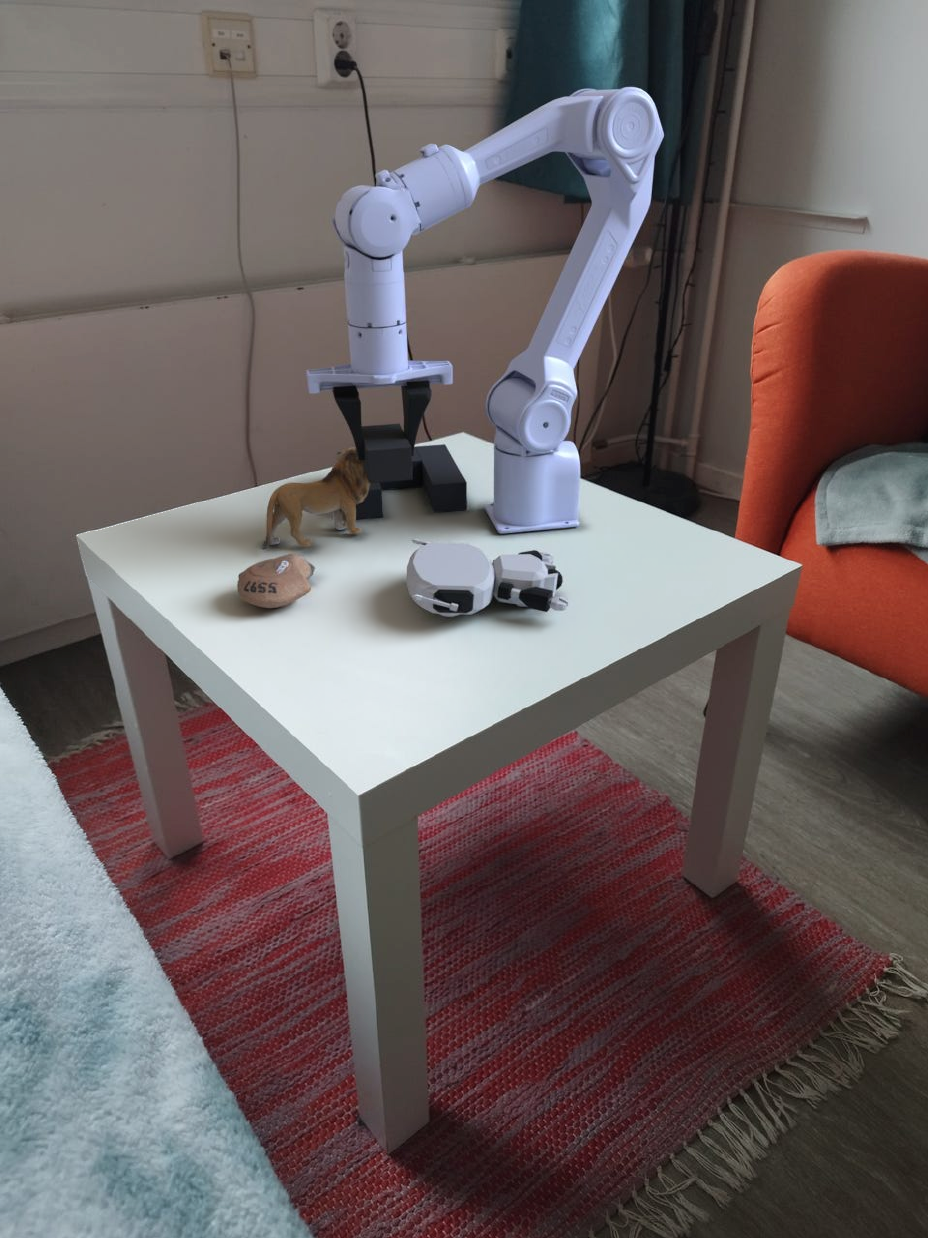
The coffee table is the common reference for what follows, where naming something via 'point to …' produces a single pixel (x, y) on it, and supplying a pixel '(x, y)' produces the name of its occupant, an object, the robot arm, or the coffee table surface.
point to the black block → (386, 453)
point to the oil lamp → (275, 581)
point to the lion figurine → (320, 499)
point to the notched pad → (423, 483)
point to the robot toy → (480, 579)
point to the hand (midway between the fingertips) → (384, 455)
